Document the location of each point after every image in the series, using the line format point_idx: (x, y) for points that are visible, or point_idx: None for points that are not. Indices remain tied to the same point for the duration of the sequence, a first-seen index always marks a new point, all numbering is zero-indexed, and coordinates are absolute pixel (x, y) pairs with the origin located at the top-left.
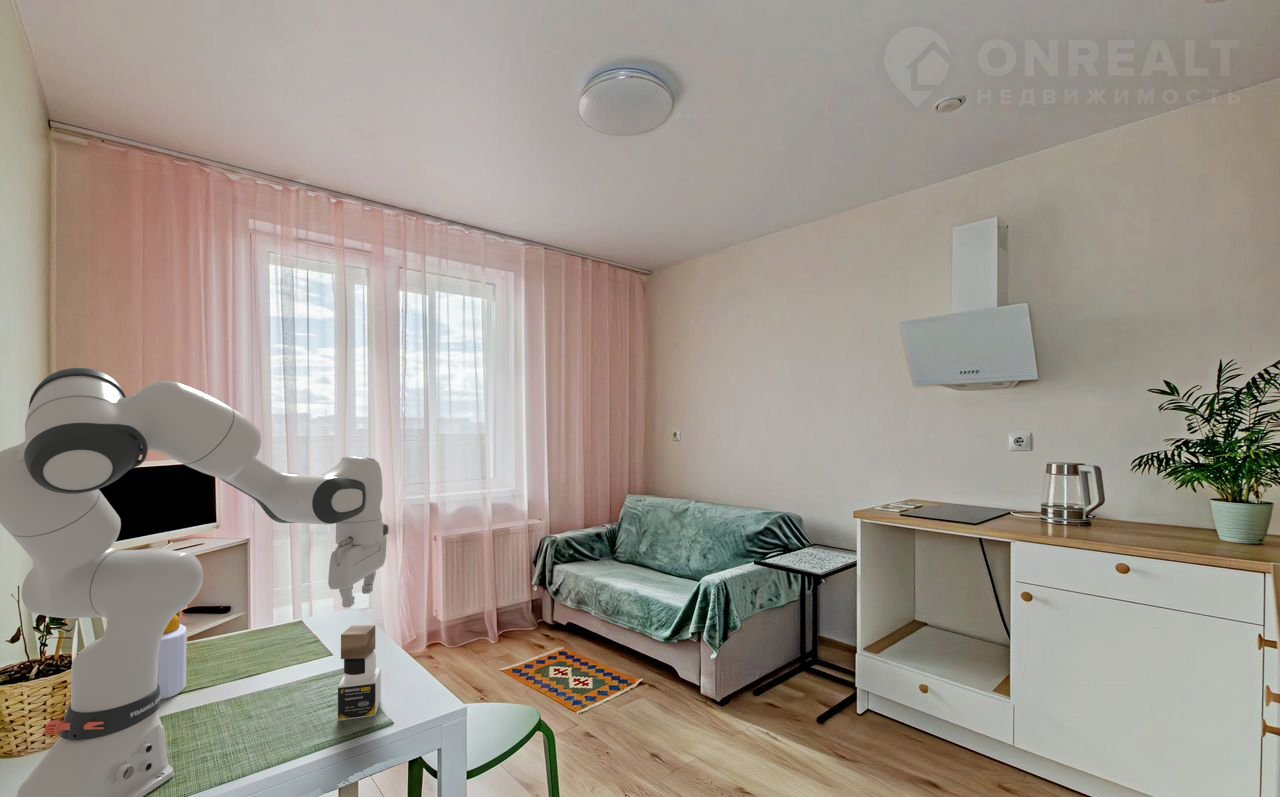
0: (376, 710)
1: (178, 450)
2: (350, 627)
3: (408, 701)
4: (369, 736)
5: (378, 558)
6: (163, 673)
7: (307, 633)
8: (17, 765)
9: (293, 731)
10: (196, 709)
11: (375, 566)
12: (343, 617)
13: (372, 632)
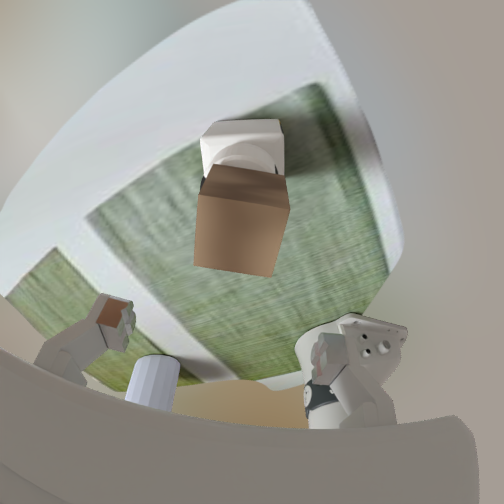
0: (269, 119)
1: None
2: (211, 265)
3: (230, 67)
4: (350, 119)
5: (6, 420)
6: (174, 383)
7: (21, 287)
8: (276, 389)
9: (292, 233)
10: (202, 337)
11: (60, 408)
12: None
13: (229, 191)
